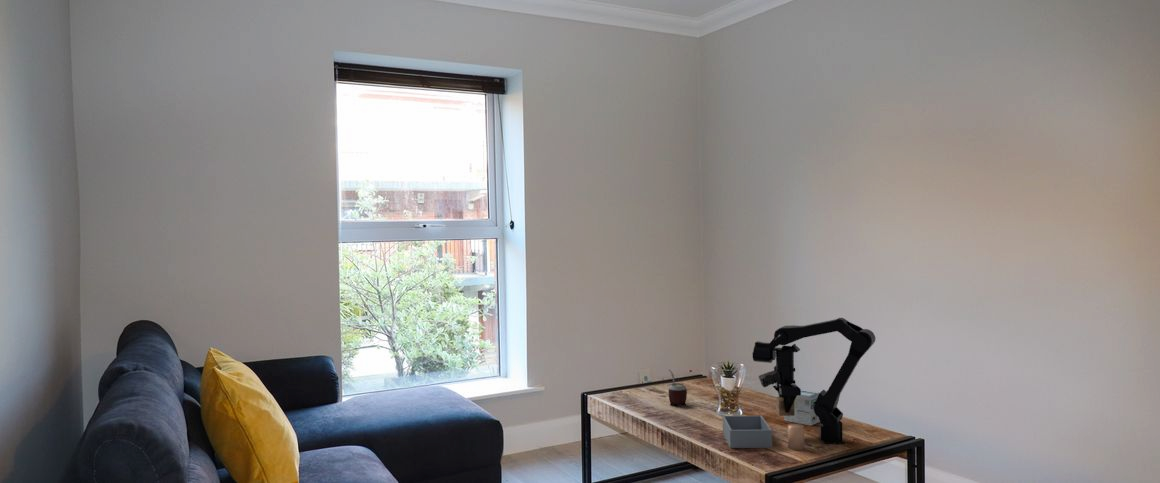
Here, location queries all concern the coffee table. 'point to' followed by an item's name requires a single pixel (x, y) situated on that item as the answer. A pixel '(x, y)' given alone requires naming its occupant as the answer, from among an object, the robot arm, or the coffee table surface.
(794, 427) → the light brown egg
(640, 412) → the coffee table surface
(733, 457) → the coffee table surface
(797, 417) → the light bulb box
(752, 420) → the box
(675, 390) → the mate gourd
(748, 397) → the coffee table surface
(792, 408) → the walnut cube
